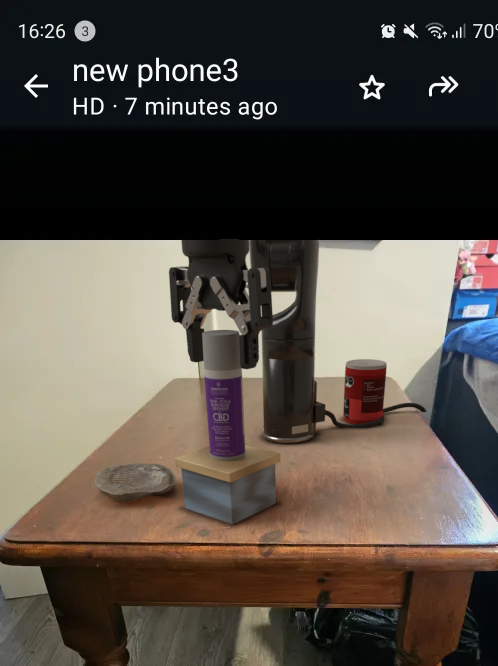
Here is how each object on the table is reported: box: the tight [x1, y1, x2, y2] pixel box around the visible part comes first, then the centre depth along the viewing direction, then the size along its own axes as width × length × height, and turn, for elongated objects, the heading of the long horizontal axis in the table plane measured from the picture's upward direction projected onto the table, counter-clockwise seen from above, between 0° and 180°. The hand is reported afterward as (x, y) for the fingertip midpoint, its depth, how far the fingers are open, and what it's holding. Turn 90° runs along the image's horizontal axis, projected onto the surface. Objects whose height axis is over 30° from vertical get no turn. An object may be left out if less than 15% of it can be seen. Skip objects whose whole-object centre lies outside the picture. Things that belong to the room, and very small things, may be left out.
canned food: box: [342, 358, 388, 425], centre depth 115 cm, size 8×8×11 cm
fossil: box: [94, 462, 177, 504], centre depth 85 cm, size 10×12×3 cm
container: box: [202, 329, 246, 461], centre depth 73 cm, size 5×5×15 cm
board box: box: [174, 444, 281, 525], centre depth 79 cm, size 10×10×7 cm
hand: (222, 364), depth 71 cm, fingers open, 8 cm apart
